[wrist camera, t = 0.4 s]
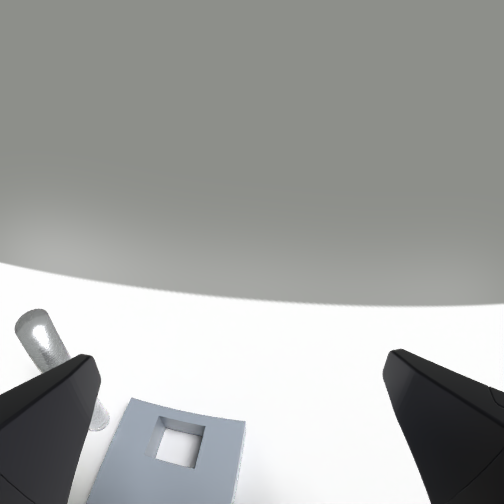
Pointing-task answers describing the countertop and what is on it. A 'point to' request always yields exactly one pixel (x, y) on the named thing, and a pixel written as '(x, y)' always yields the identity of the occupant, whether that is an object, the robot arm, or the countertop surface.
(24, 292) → the countertop surface
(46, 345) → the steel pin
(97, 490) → the socket block
